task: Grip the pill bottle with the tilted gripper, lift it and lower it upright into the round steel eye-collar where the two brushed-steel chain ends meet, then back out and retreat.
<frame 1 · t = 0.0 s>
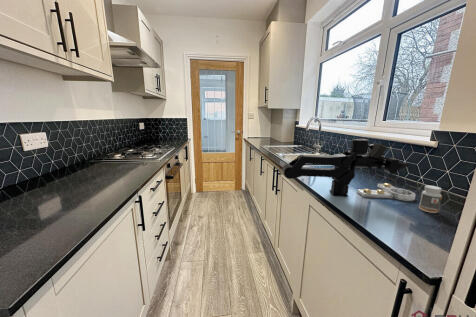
hand: (400, 162, 88), 17 cm above the table, tool horizontal, fingers open, 9 cm apart
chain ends: (400, 196, 91), on the table
pill bottle: (427, 210, 78), on the table
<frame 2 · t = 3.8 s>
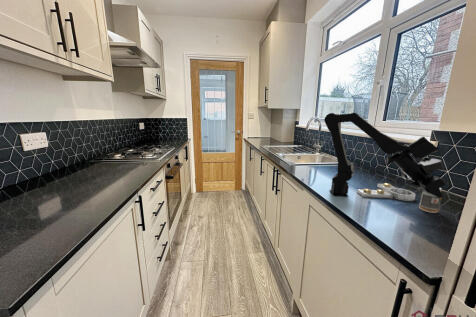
hand: (436, 194, 76), 7 cm above the table, tool tilted 45°, fingers closed on pill bottle, 5 cm apart
pill bottle: (427, 210, 78), on the table, touching gripper
when the fingers open (8 cm above the table, at t = 7.6 s): pill bottle stays where it is, resting in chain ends.
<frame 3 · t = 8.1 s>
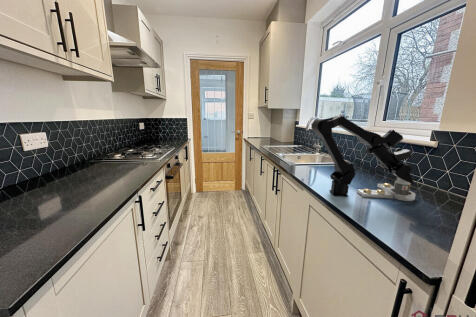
hand: (407, 179, 89), 9 cm above the table, tool tilted 45°, fingers open, 9 cm apart
pill bottle: (399, 197, 91), resting in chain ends
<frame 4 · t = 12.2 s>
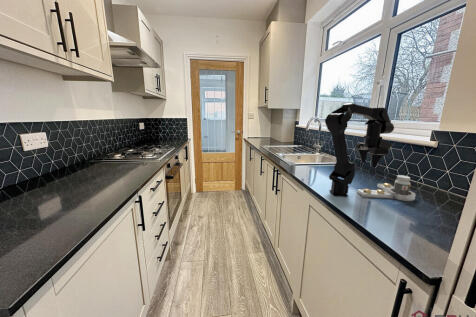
hand: (368, 165, 97), 13 cm above the table, tool pointing down, fingers open, 9 cm apart
nothing on the table moved.
at the end: pill bottle 0.1 cm off-centre on the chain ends, point 0.0 cm above the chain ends's base; pill bottle tilted 0°; the gripper is holding nothing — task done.
